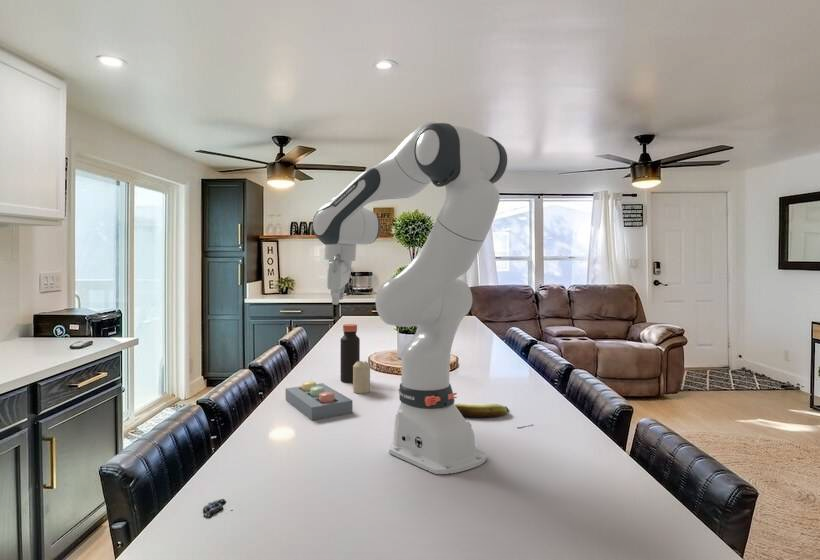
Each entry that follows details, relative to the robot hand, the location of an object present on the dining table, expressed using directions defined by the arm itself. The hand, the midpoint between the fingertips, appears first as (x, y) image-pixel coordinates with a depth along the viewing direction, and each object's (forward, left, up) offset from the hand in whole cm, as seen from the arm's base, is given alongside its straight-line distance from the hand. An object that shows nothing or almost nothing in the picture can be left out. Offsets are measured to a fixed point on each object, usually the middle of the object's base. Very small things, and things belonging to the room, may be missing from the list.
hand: (337, 301), depth 134 cm
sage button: (+4, +5, -29) cm, 29 cm away
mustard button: (+11, +5, -29) cm, 31 cm away
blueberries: (-41, +41, -32) cm, 66 cm away
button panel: (+4, +5, -31) cm, 31 cm away
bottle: (+26, -16, -31) cm, 44 cm away
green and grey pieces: (-27, -31, -32) cm, 52 cm away
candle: (+11, -13, -31) cm, 36 cm away
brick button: (-3, +5, -29) cm, 29 cm away
